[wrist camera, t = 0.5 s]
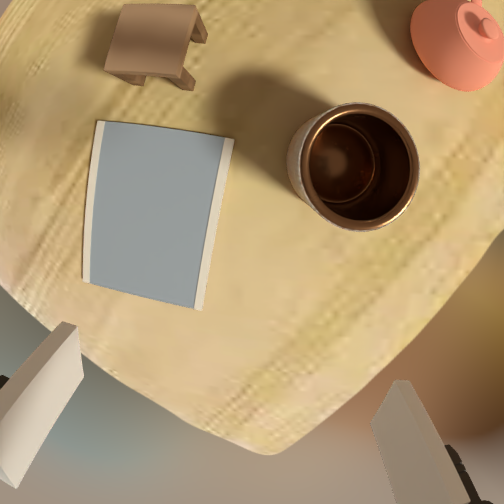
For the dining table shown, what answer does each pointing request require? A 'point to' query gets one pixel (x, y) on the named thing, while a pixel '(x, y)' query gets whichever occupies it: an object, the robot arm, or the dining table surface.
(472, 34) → the sugar bowl
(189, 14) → the stool
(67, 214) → the dining table surface
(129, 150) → the rug
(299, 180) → the planter
